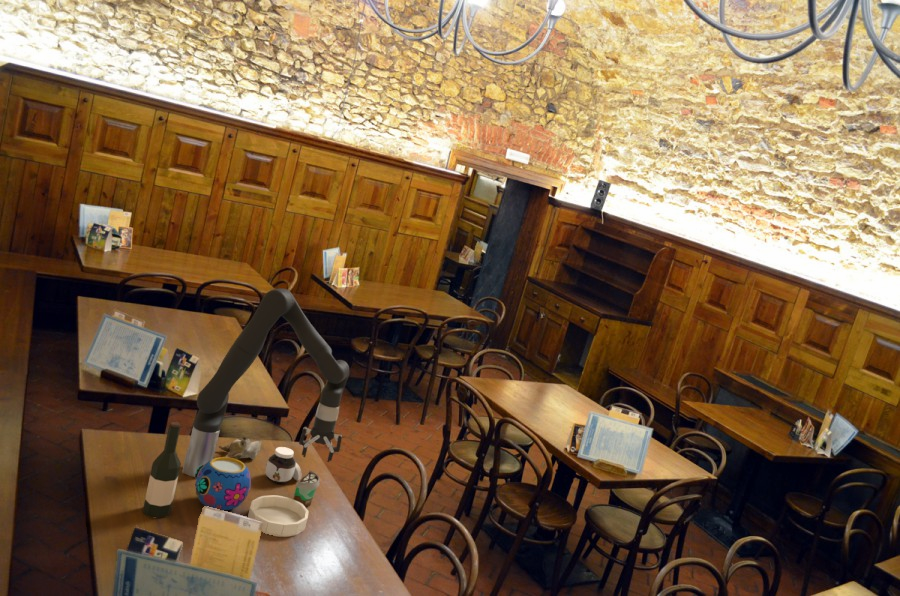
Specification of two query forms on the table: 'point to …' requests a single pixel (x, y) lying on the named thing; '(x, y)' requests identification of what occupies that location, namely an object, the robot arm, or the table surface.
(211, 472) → the ceramic pot
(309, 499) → the food container
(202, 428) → the robot arm
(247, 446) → the ceramic sculpture
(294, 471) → the spread jar
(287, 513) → the bowl
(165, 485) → the wine bottle
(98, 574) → the table surface
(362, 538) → the table surface
